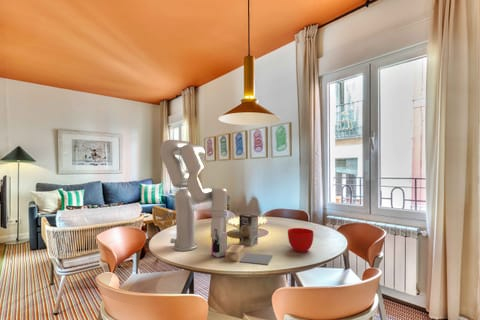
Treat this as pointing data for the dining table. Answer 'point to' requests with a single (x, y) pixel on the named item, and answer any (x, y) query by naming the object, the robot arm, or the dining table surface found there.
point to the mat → (256, 258)
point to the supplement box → (221, 246)
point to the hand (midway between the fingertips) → (219, 249)
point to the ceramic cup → (300, 239)
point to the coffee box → (248, 229)
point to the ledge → (234, 253)
